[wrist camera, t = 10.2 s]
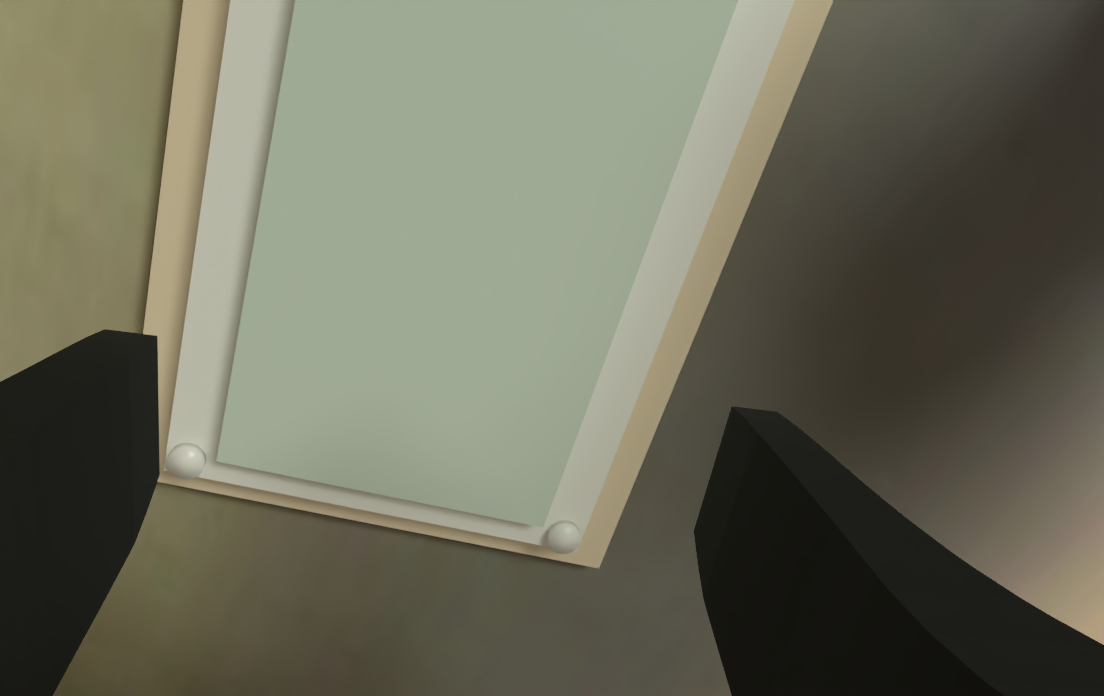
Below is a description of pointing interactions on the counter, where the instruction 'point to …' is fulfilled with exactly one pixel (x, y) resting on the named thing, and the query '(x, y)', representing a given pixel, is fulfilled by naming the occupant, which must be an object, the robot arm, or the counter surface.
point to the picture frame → (451, 248)
